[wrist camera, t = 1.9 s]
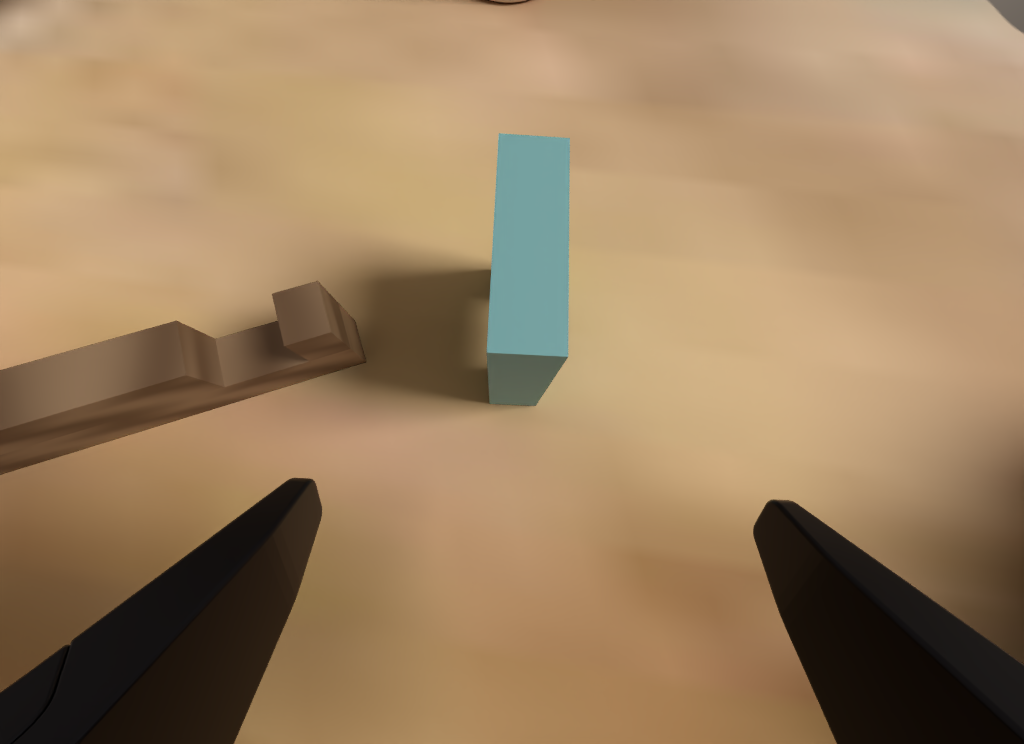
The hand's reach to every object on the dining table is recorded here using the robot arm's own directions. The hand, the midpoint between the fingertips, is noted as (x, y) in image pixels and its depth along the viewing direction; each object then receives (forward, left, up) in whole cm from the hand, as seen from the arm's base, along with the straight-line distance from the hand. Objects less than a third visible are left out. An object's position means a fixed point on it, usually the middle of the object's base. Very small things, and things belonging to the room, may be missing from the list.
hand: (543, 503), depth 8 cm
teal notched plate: (+6, +6, -14) cm, 16 cm away
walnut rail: (-10, +16, -14) cm, 23 cm away
